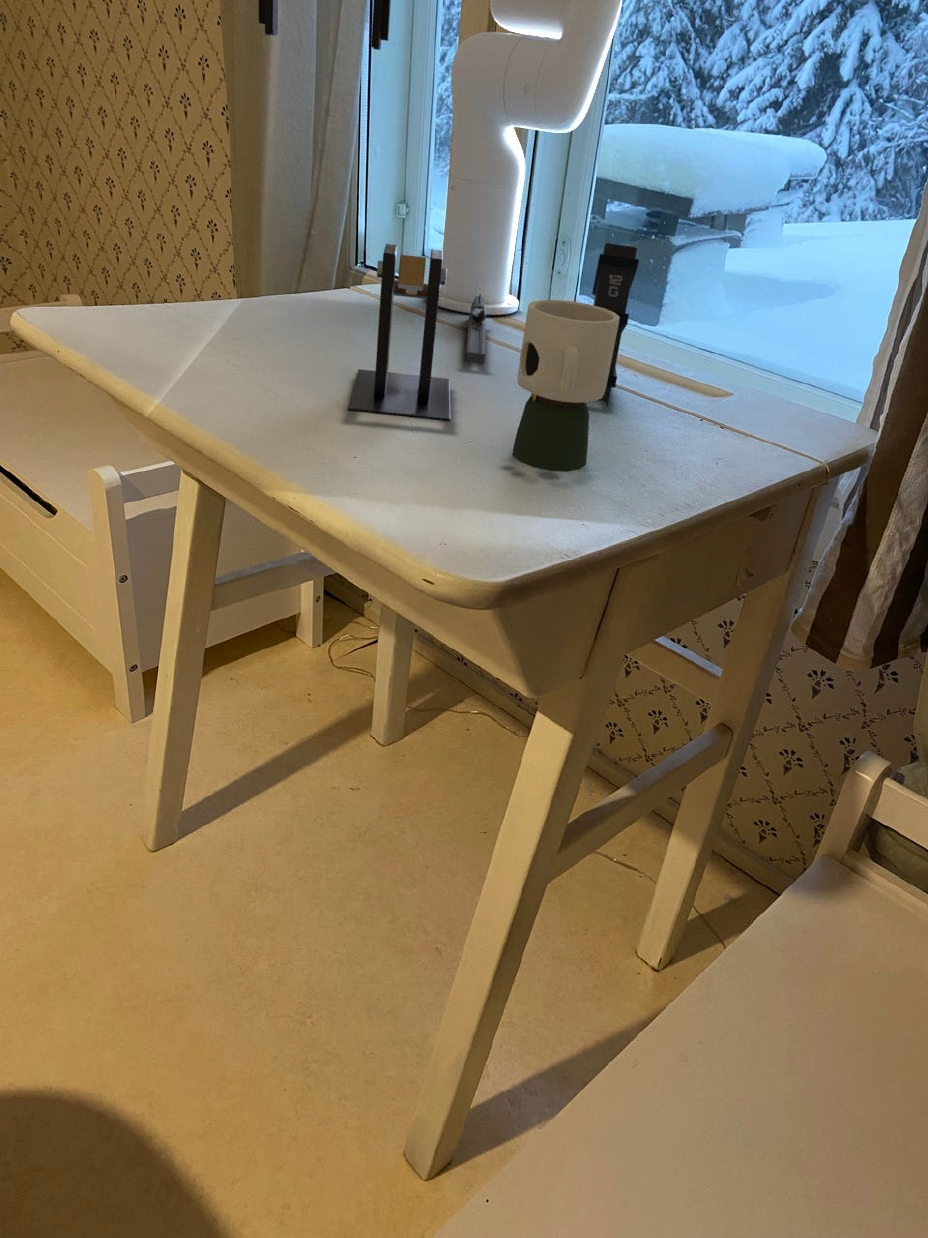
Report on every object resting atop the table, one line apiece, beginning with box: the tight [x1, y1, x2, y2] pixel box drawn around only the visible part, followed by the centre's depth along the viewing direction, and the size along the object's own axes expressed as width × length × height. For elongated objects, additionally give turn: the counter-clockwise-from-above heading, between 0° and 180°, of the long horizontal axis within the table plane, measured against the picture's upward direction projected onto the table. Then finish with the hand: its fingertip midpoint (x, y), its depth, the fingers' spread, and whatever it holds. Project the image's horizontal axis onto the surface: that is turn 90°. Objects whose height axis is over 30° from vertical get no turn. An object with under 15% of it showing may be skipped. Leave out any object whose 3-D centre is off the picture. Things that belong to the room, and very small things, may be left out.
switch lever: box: [394, 254, 440, 300], centre depth 86 cm, size 13×6×2 cm, turn 1°
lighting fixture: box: [465, 294, 487, 364], centre depth 107 cm, size 19×3×4 cm, turn 179°
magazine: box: [591, 242, 640, 408], centre depth 95 cm, size 4×13×15 cm, turn 172°
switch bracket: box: [347, 243, 451, 422], centre depth 84 cm, size 12×9×14 cm
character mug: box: [512, 299, 620, 473], centre depth 75 cm, size 11×7×13 cm, turn 177°
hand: (323, 41), depth 86 cm, fingers open, 9 cm apart
